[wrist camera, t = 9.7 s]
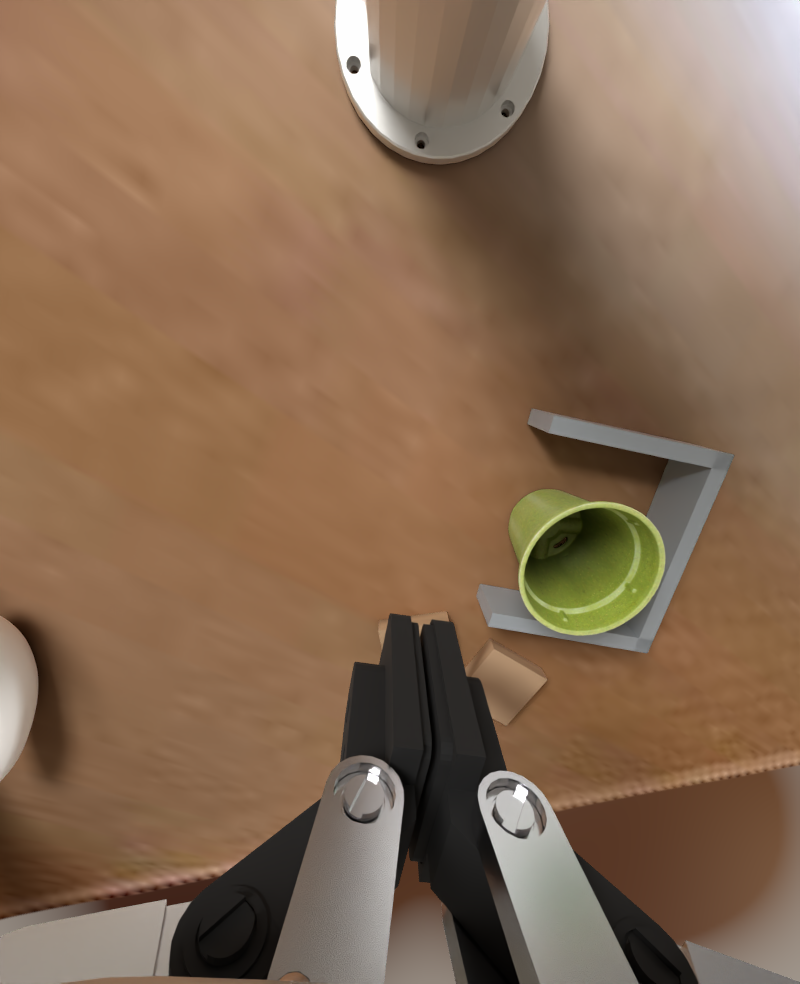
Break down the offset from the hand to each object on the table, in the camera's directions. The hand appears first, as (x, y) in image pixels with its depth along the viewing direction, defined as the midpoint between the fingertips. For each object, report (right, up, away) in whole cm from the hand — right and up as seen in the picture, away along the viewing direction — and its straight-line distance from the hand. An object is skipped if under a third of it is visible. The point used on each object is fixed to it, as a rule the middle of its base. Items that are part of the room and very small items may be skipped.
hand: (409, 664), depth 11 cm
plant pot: (+12, +2, +25) cm, 27 cm away
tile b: (+9, -12, +29) cm, 33 cm away
